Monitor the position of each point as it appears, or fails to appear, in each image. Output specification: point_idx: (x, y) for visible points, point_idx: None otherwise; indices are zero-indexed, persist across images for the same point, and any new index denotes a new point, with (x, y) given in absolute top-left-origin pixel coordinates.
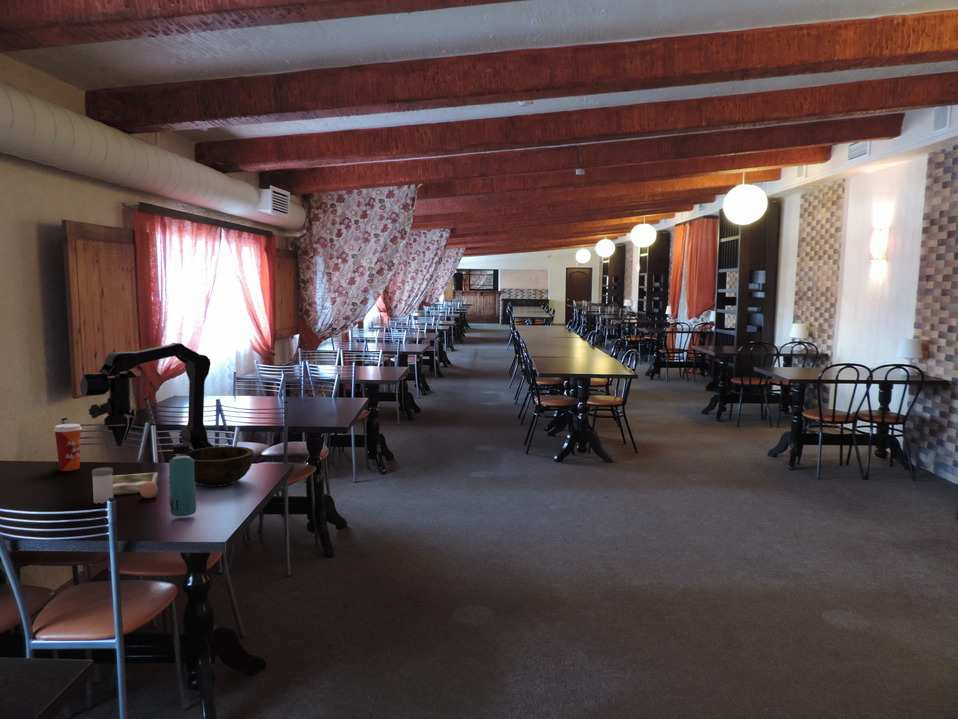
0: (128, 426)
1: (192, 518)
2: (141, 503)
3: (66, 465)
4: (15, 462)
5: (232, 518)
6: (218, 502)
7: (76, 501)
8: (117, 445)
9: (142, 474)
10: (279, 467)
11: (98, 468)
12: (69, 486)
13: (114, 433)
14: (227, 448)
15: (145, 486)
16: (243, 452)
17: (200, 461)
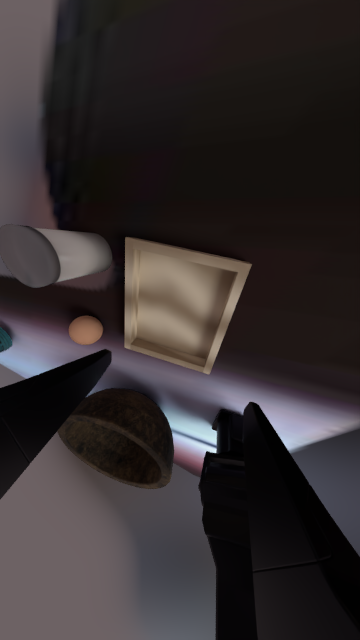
0: (258, 532)
1: None
2: (70, 307)
3: None
4: None
5: (12, 364)
6: None
7: (107, 191)
8: (101, 351)
9: (210, 350)
10: (189, 467)
11: (36, 248)
12: (297, 156)
13: (5, 392)
14: (156, 479)
15: (69, 328)
16: (135, 474)
17: None
